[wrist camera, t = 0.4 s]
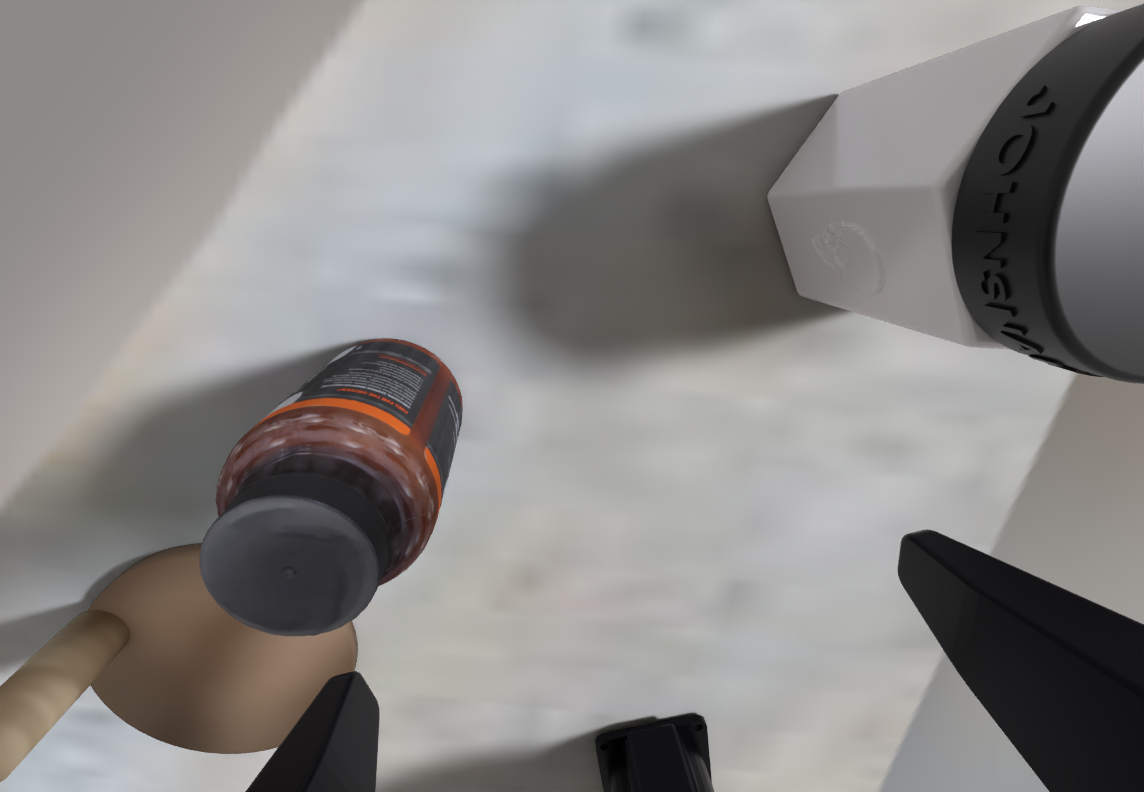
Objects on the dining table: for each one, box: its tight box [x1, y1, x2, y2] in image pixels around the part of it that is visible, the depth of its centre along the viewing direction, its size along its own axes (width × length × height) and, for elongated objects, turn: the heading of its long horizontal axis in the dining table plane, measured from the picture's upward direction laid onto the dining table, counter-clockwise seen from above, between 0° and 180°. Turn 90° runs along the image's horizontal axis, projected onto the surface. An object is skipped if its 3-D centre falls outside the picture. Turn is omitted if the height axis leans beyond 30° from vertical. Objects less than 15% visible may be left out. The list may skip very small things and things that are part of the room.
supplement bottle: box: [199, 338, 463, 636], centre depth 17 cm, size 6×6×11 cm
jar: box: [767, 4, 1144, 384], centre depth 16 cm, size 9×8×12 cm
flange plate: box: [0, 544, 358, 782], centre depth 23 cm, size 12×12×7 cm
